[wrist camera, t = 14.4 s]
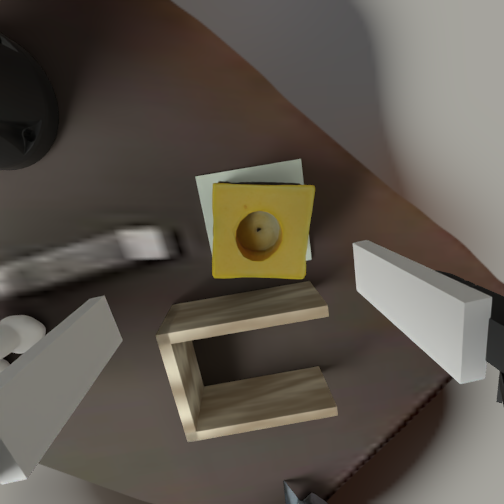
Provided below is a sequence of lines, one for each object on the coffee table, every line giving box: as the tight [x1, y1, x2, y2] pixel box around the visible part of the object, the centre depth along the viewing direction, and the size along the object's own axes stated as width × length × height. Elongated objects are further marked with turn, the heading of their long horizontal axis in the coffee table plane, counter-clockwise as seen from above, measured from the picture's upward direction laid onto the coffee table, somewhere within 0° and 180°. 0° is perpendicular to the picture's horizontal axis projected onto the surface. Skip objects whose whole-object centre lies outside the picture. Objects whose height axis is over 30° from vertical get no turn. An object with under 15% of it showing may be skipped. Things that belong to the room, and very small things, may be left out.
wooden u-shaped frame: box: [156, 281, 338, 442], centre depth 36 cm, size 17×21×8 cm
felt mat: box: [195, 159, 312, 261], centre depth 35 cm, size 14×14×1 cm
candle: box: [212, 181, 315, 279], centre depth 30 cm, size 10×10×10 cm
